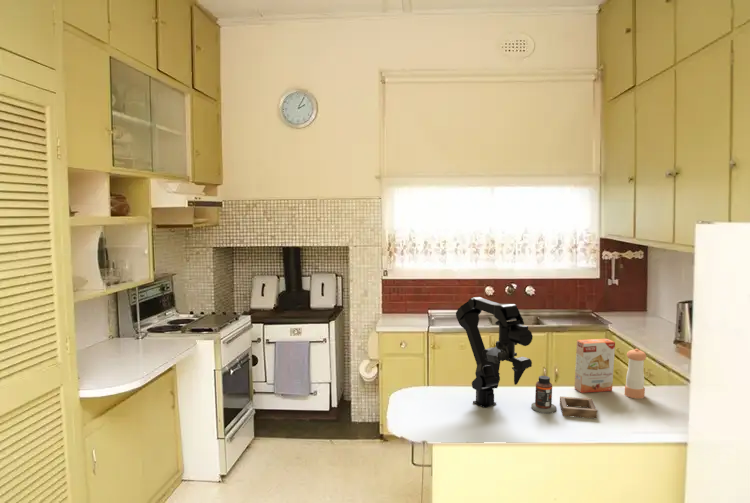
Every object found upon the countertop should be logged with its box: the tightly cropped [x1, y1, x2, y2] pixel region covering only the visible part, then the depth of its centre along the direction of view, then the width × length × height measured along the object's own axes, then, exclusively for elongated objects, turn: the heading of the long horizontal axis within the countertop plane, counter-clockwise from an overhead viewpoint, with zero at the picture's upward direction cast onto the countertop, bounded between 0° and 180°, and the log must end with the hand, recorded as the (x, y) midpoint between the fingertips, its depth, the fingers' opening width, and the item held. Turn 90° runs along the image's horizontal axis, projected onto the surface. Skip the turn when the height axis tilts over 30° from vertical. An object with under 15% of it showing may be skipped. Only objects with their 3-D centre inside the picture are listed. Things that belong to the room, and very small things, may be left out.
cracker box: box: [573, 338, 616, 394], centre depth 229 cm, size 14×6×21 cm, turn 100°
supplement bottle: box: [534, 375, 553, 409], centre depth 211 cm, size 6×6×11 cm
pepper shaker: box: [624, 348, 647, 400], centre depth 223 cm, size 7×7×19 cm
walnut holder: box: [559, 396, 598, 419], centre depth 209 cm, size 12×12×3 cm
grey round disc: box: [530, 402, 557, 414], centre depth 211 cm, size 9×9×1 cm
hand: (505, 380), depth 204 cm, fingers open, 9 cm apart
